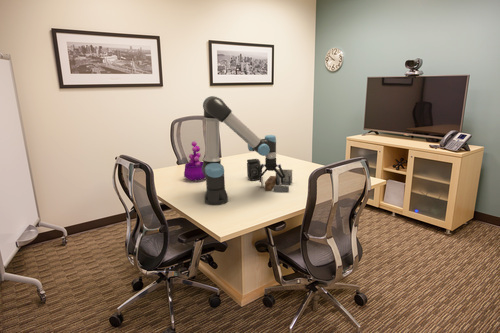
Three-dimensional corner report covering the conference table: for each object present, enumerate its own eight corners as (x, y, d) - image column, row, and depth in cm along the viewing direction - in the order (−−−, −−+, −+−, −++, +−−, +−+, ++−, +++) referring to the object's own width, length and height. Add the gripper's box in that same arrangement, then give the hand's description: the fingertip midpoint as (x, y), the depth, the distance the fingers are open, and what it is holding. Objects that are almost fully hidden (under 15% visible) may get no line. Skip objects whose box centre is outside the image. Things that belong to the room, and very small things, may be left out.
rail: (264, 190, 227) (264, 182, 225) (270, 183, 242) (270, 175, 240) (271, 191, 226) (271, 183, 224) (276, 184, 240) (276, 176, 239)
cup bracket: (274, 184, 238) (274, 171, 235) (275, 182, 244) (275, 169, 241) (291, 185, 236) (291, 171, 233) (292, 182, 241) (292, 169, 239)
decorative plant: (190, 175, 267) (187, 138, 259) (211, 176, 263) (209, 139, 255) (180, 182, 249) (177, 143, 241) (204, 183, 246) (201, 144, 238)
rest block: (273, 191, 224) (273, 186, 223) (274, 189, 228) (274, 184, 227) (288, 192, 222) (288, 187, 221) (288, 190, 226) (288, 184, 225)
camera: (263, 180, 249) (262, 161, 245) (249, 181, 247) (248, 162, 243) (260, 176, 259) (259, 157, 255) (247, 177, 257) (246, 158, 253)
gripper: (252, 158, 227) (253, 187, 232) (288, 159, 222) (288, 189, 227) (254, 155, 234) (255, 184, 239) (289, 156, 229) (289, 185, 235)
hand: (271, 186), depth 233 cm, fingers open, 13 cm apart
